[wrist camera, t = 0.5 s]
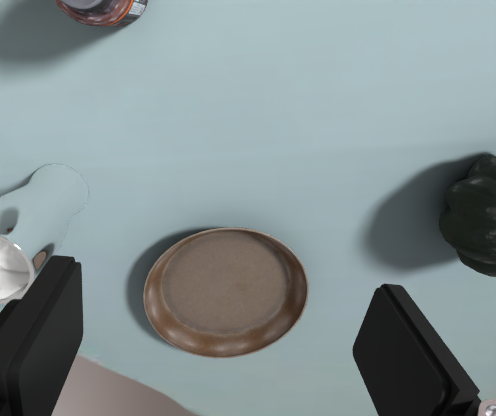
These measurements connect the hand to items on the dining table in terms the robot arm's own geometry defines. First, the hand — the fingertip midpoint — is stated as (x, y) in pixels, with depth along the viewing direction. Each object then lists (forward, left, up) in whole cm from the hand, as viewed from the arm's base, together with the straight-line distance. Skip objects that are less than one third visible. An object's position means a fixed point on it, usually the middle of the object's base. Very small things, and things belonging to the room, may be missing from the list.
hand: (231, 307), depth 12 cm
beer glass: (+19, -3, -30) cm, 36 cm away
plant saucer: (+12, +19, -30) cm, 38 cm away
